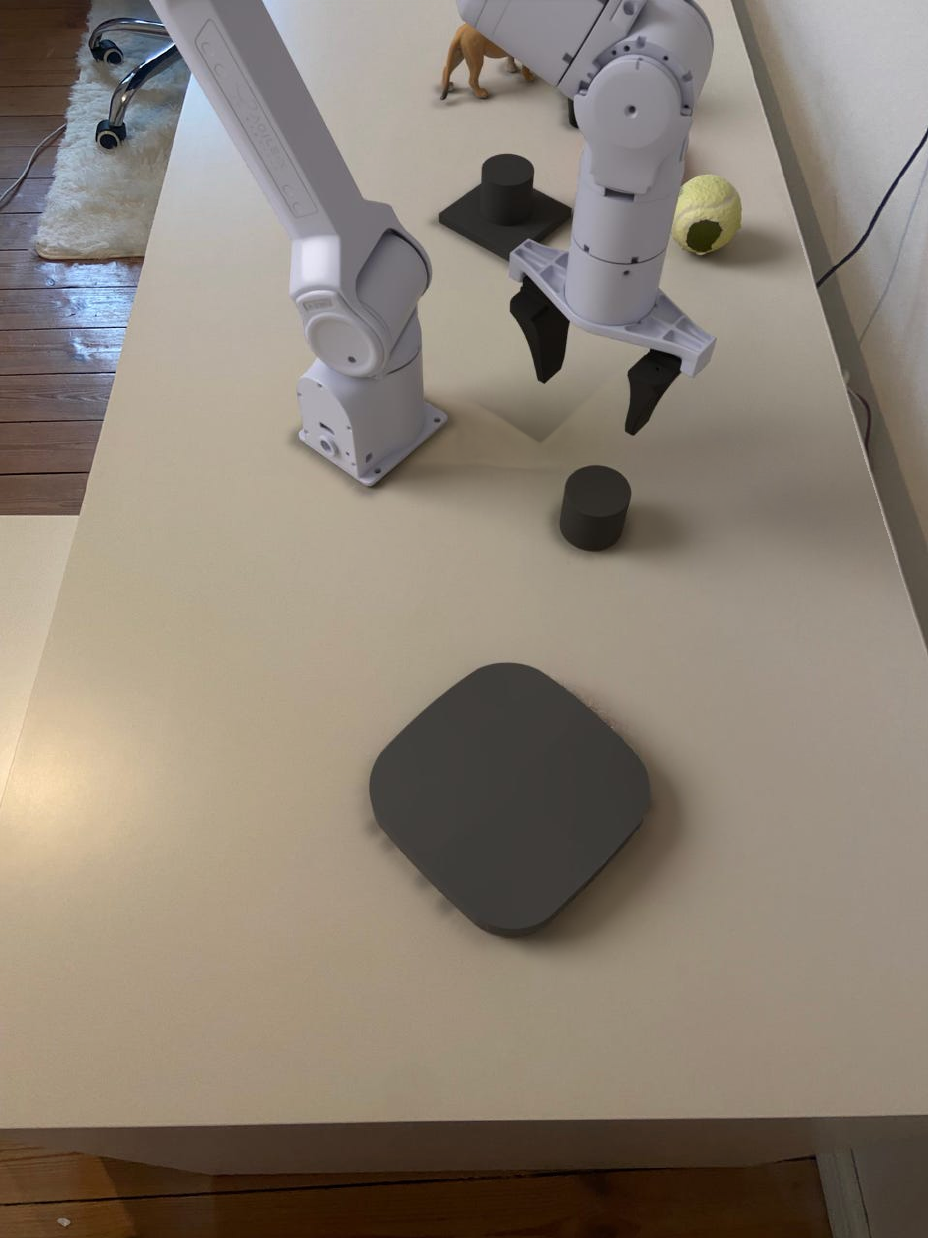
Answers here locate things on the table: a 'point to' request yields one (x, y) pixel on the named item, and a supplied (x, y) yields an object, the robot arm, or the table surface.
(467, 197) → the base pad
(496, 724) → the media streaming box
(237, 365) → the table surface
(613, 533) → the puck
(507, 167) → the puck
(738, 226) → the tennis ball
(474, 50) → the lion figurine
